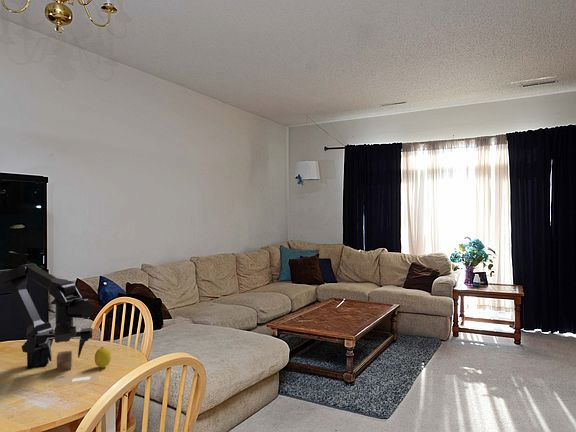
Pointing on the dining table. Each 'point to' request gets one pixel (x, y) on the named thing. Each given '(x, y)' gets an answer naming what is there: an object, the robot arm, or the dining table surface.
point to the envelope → (76, 378)
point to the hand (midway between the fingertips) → (64, 359)
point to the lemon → (102, 357)
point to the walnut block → (64, 361)
